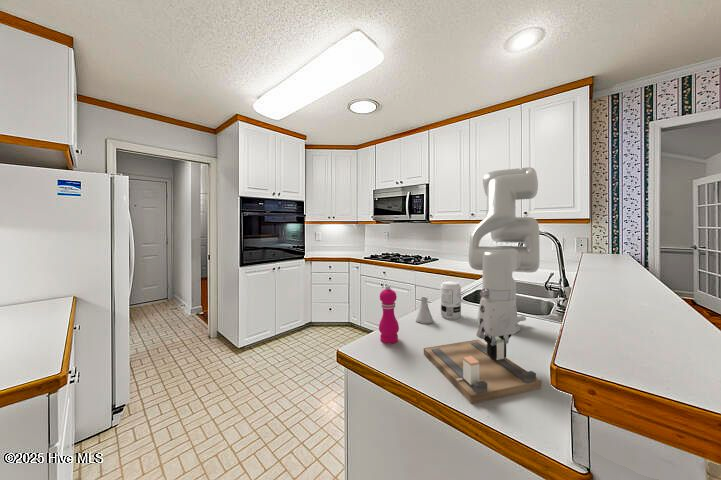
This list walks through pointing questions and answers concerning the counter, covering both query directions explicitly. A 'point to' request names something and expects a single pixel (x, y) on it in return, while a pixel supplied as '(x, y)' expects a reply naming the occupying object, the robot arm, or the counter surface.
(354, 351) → the counter surface
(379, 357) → the counter surface
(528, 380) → the wooden board
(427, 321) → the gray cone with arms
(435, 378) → the counter surface
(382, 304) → the pepper mill
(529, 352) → the counter surface
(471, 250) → the robot arm
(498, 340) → the sage-capped tab
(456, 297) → the supplement can
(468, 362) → the terracotta-capped tab
